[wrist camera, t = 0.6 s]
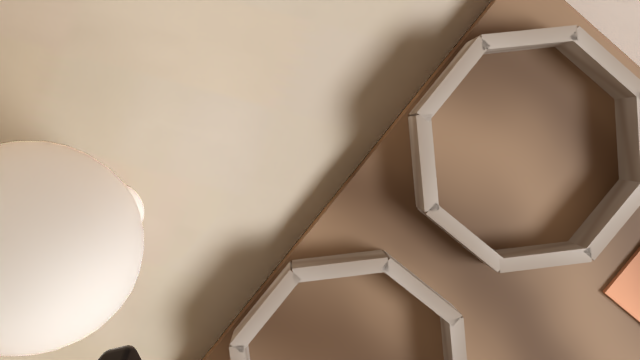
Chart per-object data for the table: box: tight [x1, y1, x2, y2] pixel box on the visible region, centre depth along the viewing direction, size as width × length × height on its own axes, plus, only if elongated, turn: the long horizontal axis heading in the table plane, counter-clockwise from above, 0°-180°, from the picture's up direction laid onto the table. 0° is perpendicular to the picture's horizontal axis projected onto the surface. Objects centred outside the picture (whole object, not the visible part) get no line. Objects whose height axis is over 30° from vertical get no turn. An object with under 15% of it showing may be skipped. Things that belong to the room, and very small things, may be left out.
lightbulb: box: [0, 141, 144, 356], centre depth 18 cm, size 6×6×11 cm
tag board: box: [202, 0, 640, 360], centre depth 23 cm, size 24×16×2 cm, turn 141°
